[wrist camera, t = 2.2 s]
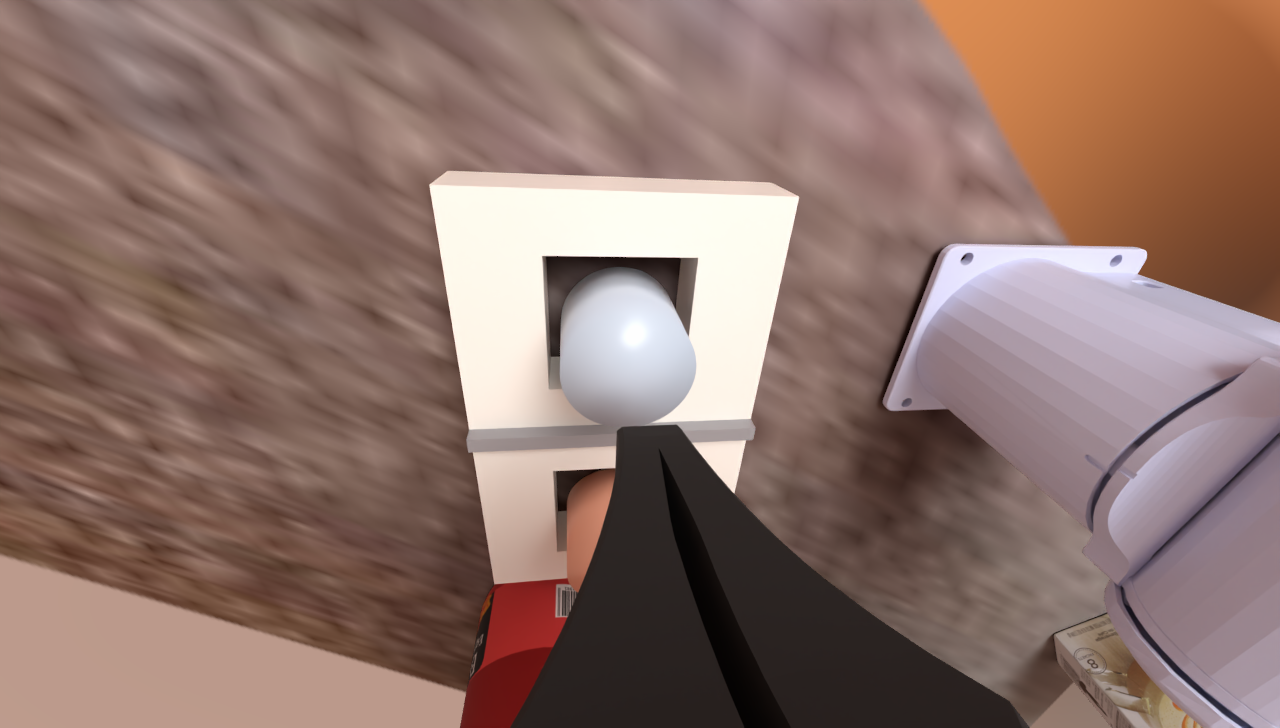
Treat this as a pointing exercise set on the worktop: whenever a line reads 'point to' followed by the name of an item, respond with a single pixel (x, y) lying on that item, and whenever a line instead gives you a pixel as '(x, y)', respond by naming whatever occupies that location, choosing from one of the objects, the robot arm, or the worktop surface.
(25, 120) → the worktop surface
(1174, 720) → the coffee box
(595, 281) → the pale blue rounded piece
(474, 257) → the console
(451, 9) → the worktop surface
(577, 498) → the orange rounded piece
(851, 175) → the worktop surface
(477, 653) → the canned food
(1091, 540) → the robot arm
